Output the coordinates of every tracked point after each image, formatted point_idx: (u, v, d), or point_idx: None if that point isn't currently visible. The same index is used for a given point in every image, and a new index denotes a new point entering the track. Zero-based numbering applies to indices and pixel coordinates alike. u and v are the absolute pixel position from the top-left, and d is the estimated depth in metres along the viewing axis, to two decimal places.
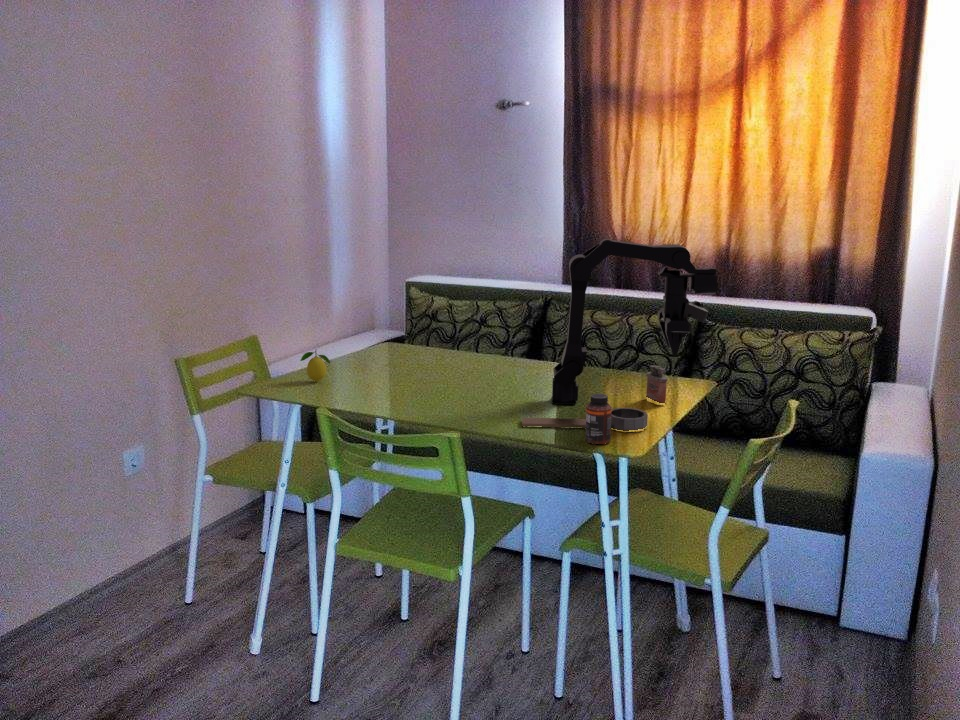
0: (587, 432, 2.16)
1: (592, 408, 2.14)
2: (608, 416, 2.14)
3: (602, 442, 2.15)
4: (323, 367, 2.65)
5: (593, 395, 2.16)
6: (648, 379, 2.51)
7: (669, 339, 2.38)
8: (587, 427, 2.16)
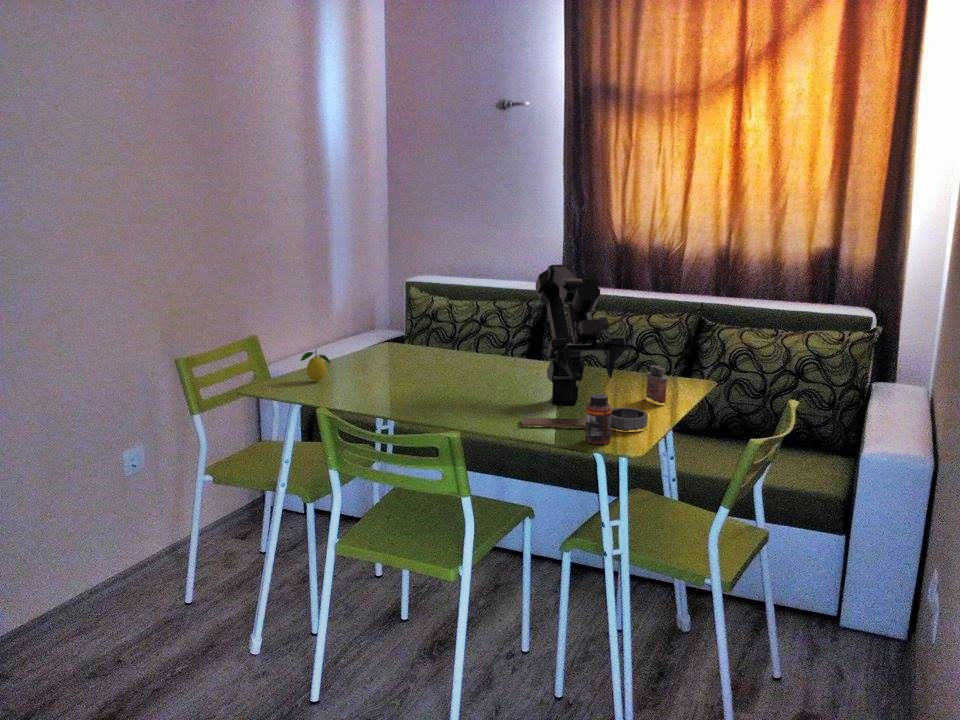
0: (587, 432, 2.16)
1: (592, 407, 2.14)
2: (608, 416, 2.14)
3: (602, 442, 2.15)
4: (323, 367, 2.65)
5: (593, 395, 2.16)
6: (648, 379, 2.51)
7: (562, 366, 2.26)
8: (587, 427, 2.16)
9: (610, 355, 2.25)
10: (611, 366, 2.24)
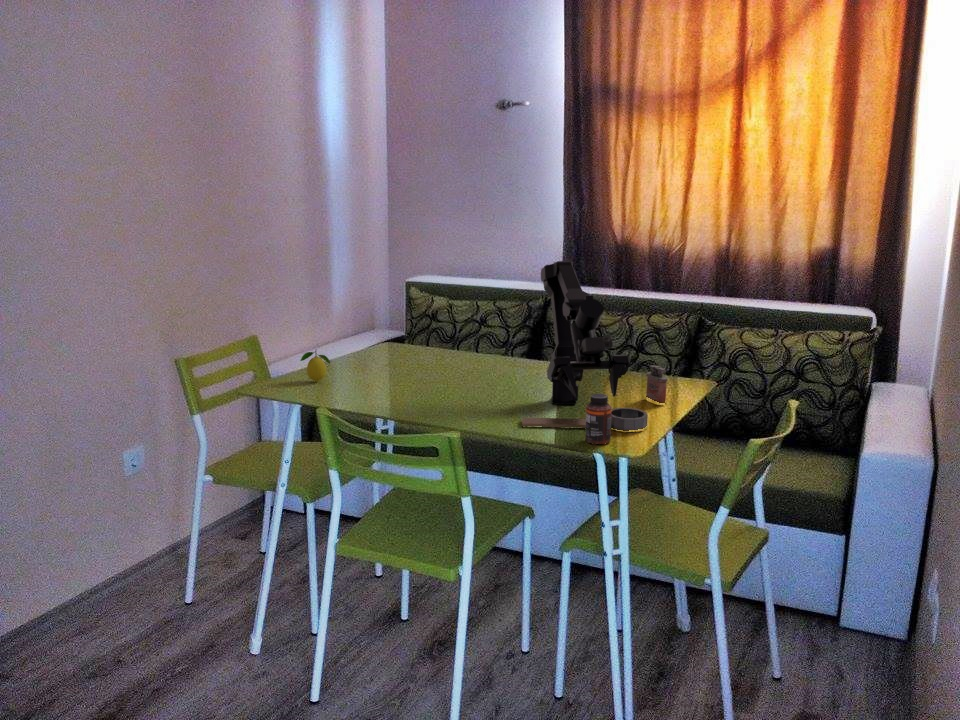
0: (587, 432, 2.16)
1: (592, 407, 2.14)
2: (608, 416, 2.14)
3: (602, 442, 2.15)
4: (323, 367, 2.65)
5: (593, 395, 2.16)
6: (648, 379, 2.51)
7: (565, 384, 2.22)
8: (587, 427, 2.16)
9: (614, 373, 2.21)
10: (615, 384, 2.20)
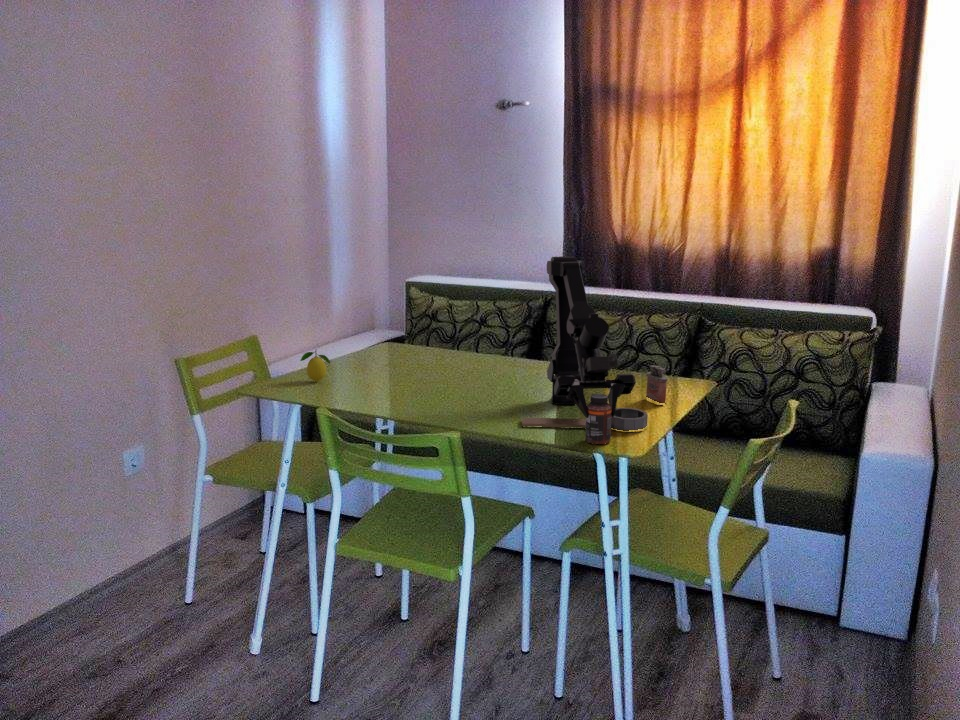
0: (587, 432, 2.16)
1: (592, 407, 2.14)
2: (608, 416, 2.14)
3: (602, 442, 2.15)
4: (323, 367, 2.65)
5: (593, 395, 2.16)
6: (648, 379, 2.51)
7: (576, 403, 2.18)
8: (587, 427, 2.16)
9: (613, 393, 2.17)
10: (614, 405, 2.16)
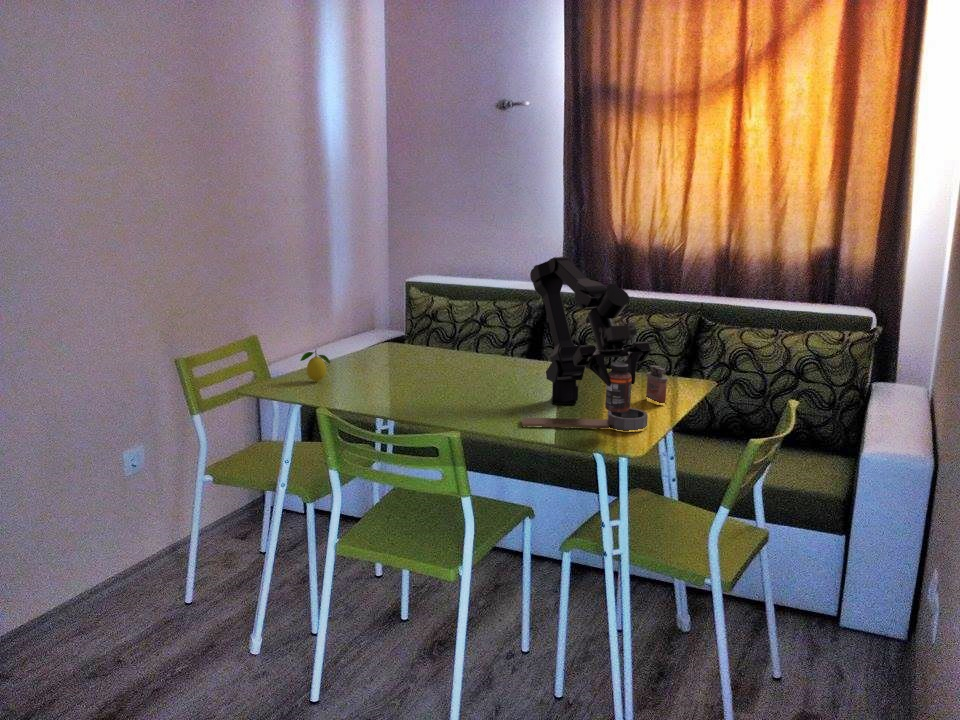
0: (608, 400, 2.20)
1: (615, 376, 2.18)
2: (629, 384, 2.19)
3: (623, 409, 2.20)
4: (323, 367, 2.65)
5: (614, 364, 2.20)
6: (648, 379, 2.51)
7: (595, 372, 2.22)
8: (608, 395, 2.20)
9: (631, 361, 2.22)
10: (633, 372, 2.21)
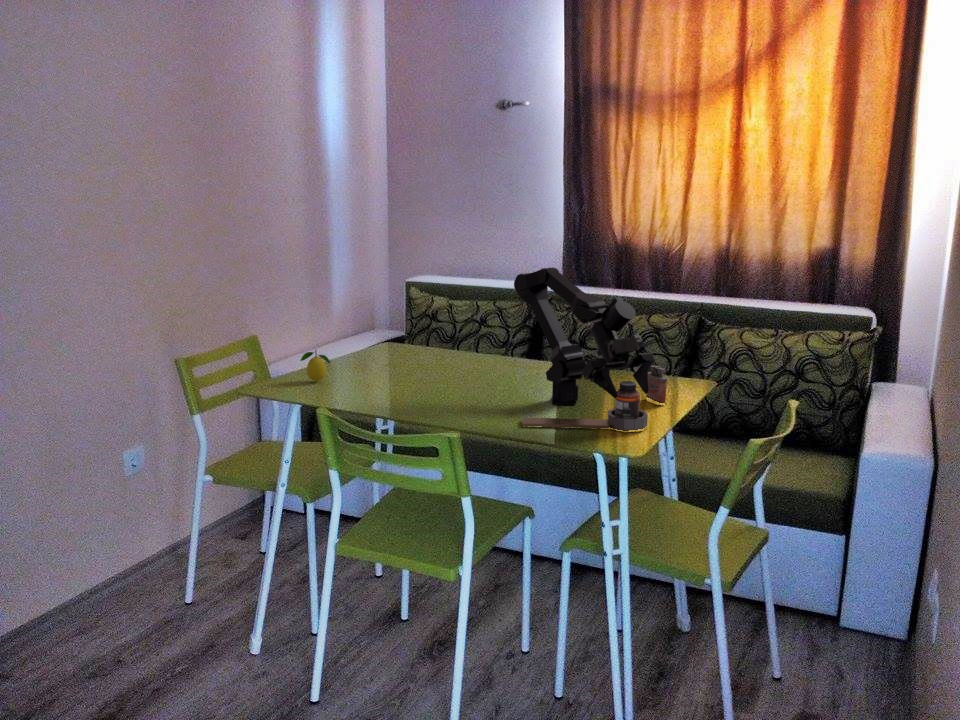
0: None
1: (625, 395, 2.25)
2: (638, 401, 2.26)
3: None
4: (323, 367, 2.65)
5: (622, 383, 2.27)
6: (648, 379, 2.51)
7: (600, 385, 2.27)
8: (618, 414, 2.27)
9: (643, 371, 2.29)
10: (646, 382, 2.29)
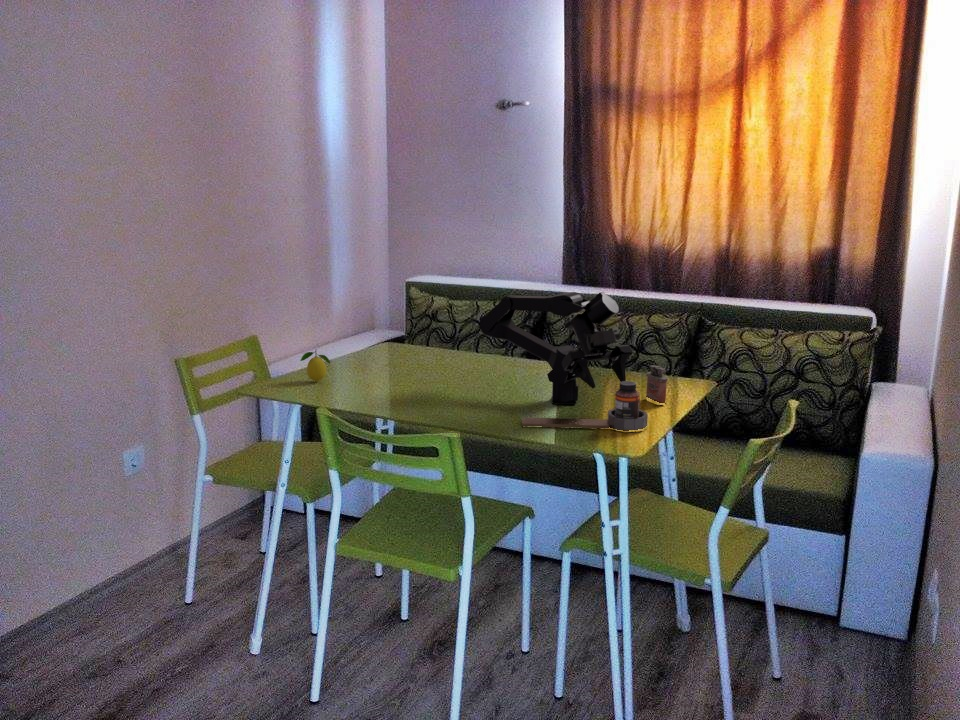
0: None
1: (625, 395, 2.25)
2: (638, 401, 2.26)
3: None
4: (323, 367, 2.65)
5: (622, 383, 2.27)
6: (648, 379, 2.51)
7: (579, 376, 2.35)
8: (618, 414, 2.27)
9: (621, 363, 2.38)
10: (623, 373, 2.37)
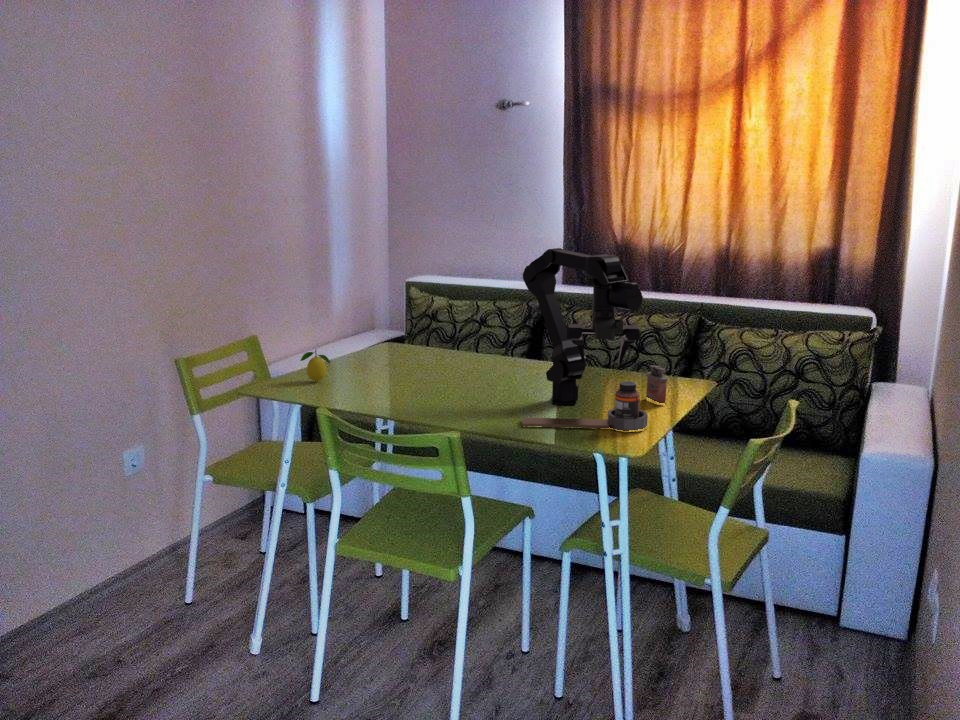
0: None
1: (625, 395, 2.25)
2: (638, 401, 2.26)
3: None
4: (323, 367, 2.65)
5: (622, 383, 2.26)
6: (648, 379, 2.51)
7: None
8: (618, 414, 2.27)
9: (623, 346, 2.34)
10: (621, 357, 2.35)
